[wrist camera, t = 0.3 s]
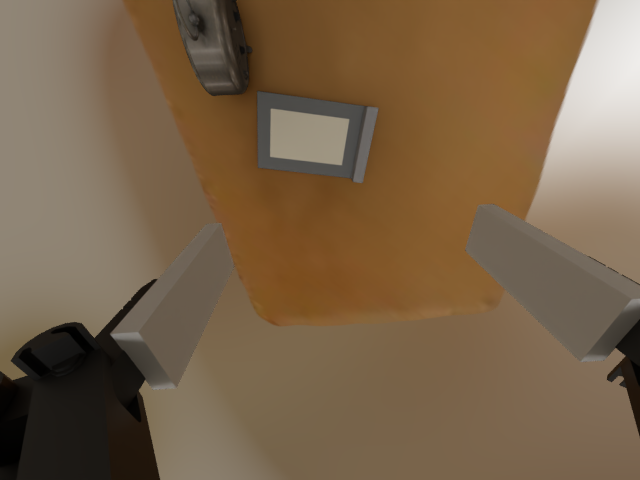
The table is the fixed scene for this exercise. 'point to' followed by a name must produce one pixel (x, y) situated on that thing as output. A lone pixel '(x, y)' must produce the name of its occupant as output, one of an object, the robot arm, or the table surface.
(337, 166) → the mat
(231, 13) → the alarm clock
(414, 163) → the table surface
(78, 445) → the robot arm
